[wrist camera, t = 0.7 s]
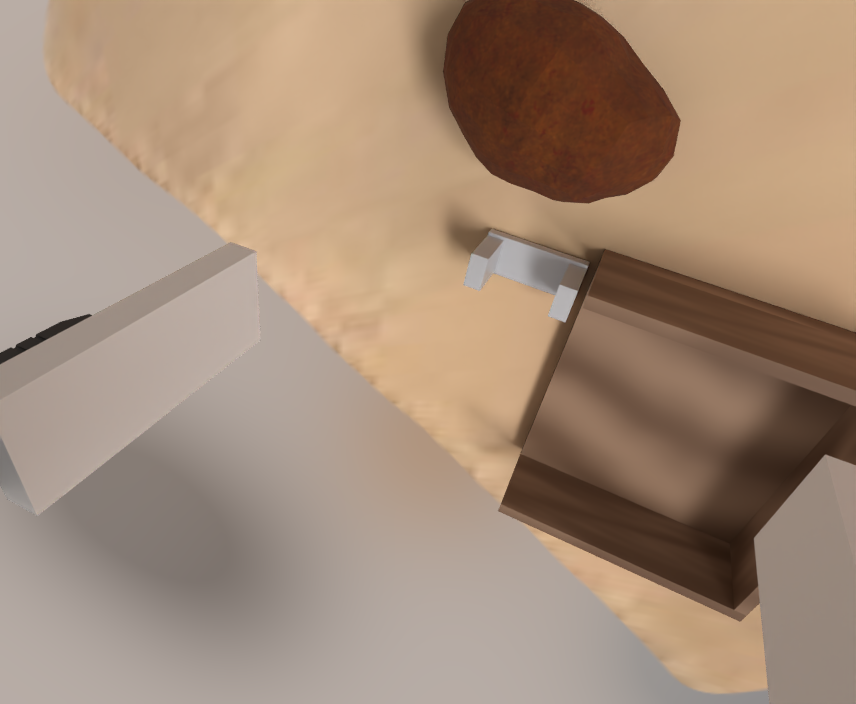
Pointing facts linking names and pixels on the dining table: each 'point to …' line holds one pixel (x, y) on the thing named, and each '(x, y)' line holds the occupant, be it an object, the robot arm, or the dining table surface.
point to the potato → (556, 99)
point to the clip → (528, 268)
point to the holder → (682, 428)
